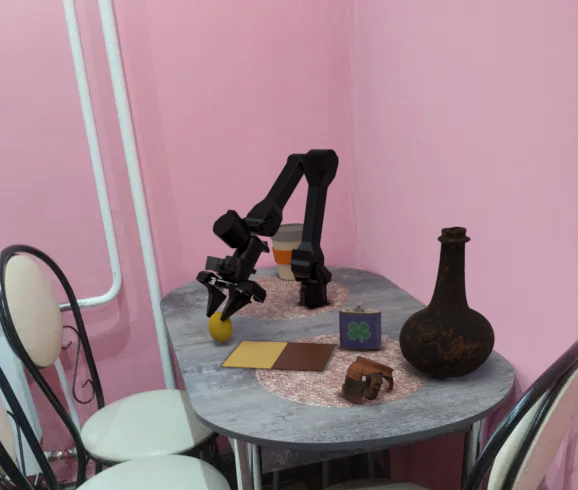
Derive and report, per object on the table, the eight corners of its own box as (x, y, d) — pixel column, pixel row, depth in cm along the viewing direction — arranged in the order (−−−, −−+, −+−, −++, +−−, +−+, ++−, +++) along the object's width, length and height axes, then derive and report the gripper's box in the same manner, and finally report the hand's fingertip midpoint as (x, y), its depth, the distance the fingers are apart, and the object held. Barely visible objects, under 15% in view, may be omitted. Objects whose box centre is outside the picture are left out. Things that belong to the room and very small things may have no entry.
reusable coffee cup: (320, 272, 191) (318, 224, 185) (300, 283, 182) (296, 233, 175) (287, 268, 198) (283, 222, 191) (265, 279, 188) (261, 230, 182)
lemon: (230, 348, 139) (226, 315, 135) (207, 348, 140) (203, 315, 136) (237, 338, 144) (233, 306, 140) (215, 338, 145) (210, 307, 141)
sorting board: (242, 342, 142) (242, 340, 142) (335, 345, 136) (335, 344, 136) (222, 366, 130) (221, 365, 130) (322, 371, 124) (322, 370, 124)
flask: (382, 347, 133) (381, 300, 129) (380, 352, 131) (380, 305, 126) (341, 345, 136) (339, 300, 131) (338, 350, 133) (336, 304, 129)
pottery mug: (331, 391, 117) (346, 350, 116) (375, 405, 119) (389, 366, 118) (349, 403, 105) (366, 359, 104) (397, 419, 108) (413, 375, 107)
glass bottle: (382, 374, 121) (381, 233, 109) (429, 345, 133) (433, 215, 120) (463, 397, 110) (473, 243, 98) (507, 363, 121) (521, 222, 109)
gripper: (196, 236, 140) (165, 295, 138) (251, 244, 128) (219, 309, 126) (225, 261, 148) (197, 317, 146) (280, 271, 136) (250, 332, 134)
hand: (214, 318), depth 138 cm, fingers closed on lemon, 4 cm apart
